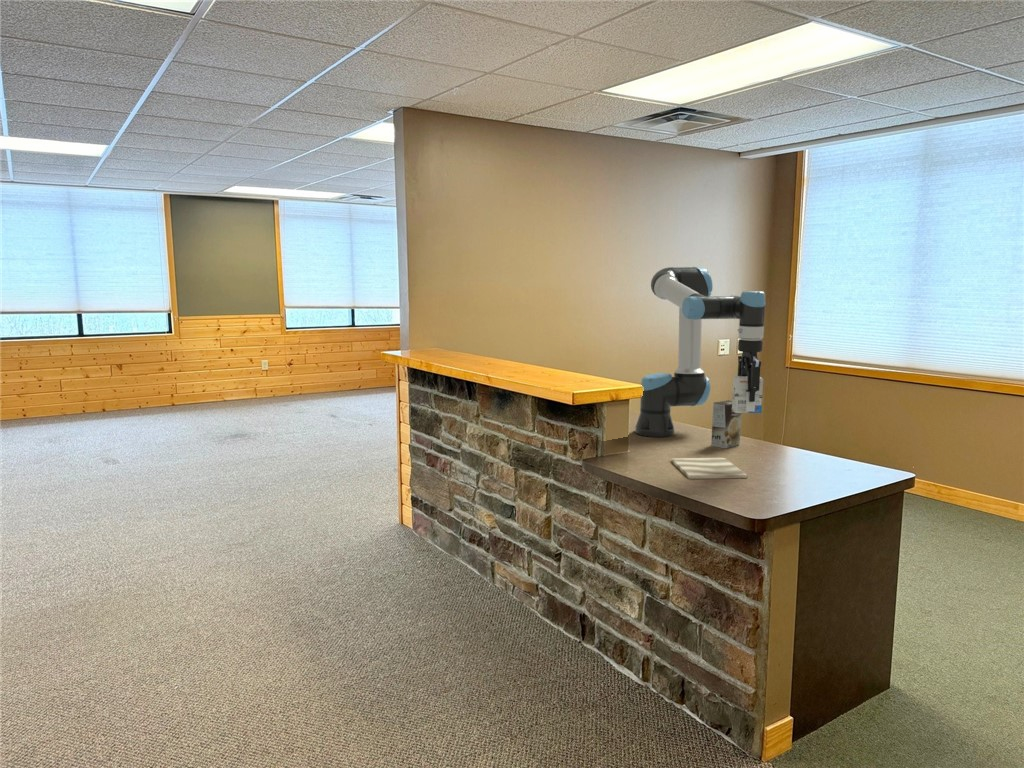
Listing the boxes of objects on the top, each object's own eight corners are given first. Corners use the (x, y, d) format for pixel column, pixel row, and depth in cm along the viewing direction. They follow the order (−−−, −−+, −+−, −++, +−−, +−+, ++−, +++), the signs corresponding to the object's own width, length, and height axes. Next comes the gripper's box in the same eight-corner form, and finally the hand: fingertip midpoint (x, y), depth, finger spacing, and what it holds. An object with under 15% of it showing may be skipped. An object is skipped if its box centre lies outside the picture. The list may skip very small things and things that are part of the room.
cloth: (671, 461, 230) (671, 458, 230) (724, 460, 230) (724, 457, 230) (689, 478, 210) (689, 475, 210) (746, 477, 211) (747, 474, 211)
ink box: (757, 410, 228) (759, 375, 226) (761, 413, 224) (763, 378, 222) (731, 410, 229) (733, 375, 227) (734, 413, 224) (736, 377, 222)
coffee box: (725, 449, 246) (727, 405, 244) (710, 445, 251) (712, 402, 249) (740, 445, 252) (742, 402, 249) (725, 441, 257) (727, 399, 254)
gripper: (729, 336, 231) (725, 404, 235) (750, 342, 213) (745, 415, 217) (750, 336, 232) (746, 403, 235) (773, 342, 214) (769, 415, 217)
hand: (746, 409), depth 226 cm, fingers closed on ink box, 5 cm apart
